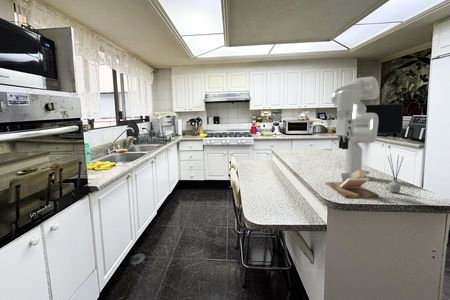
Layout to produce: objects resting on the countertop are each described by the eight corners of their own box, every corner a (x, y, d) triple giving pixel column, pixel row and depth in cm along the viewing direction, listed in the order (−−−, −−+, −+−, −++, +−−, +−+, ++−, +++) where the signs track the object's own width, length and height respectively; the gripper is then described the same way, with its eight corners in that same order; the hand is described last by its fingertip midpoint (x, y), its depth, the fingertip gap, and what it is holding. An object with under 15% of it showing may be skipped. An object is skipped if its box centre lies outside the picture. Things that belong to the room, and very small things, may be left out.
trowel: (355, 173, 126) (369, 166, 114) (357, 184, 124) (372, 178, 112) (340, 173, 126) (353, 167, 114) (342, 184, 124) (355, 179, 112)
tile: (368, 177, 116) (369, 180, 116) (357, 185, 126) (358, 188, 125) (348, 178, 116) (348, 180, 116) (339, 186, 126) (339, 188, 125)
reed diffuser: (405, 194, 117) (408, 155, 114) (392, 195, 116) (395, 155, 114) (390, 189, 127) (392, 152, 124) (378, 189, 127) (380, 153, 124)
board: (352, 184, 137) (352, 182, 137) (378, 197, 113) (378, 194, 113) (324, 184, 137) (325, 182, 137) (345, 198, 114) (345, 195, 113)
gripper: (361, 113, 115) (359, 150, 117) (343, 114, 131) (342, 146, 133) (346, 114, 115) (344, 151, 117) (330, 114, 131) (329, 147, 133)
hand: (343, 148), depth 125 cm, fingers closed
